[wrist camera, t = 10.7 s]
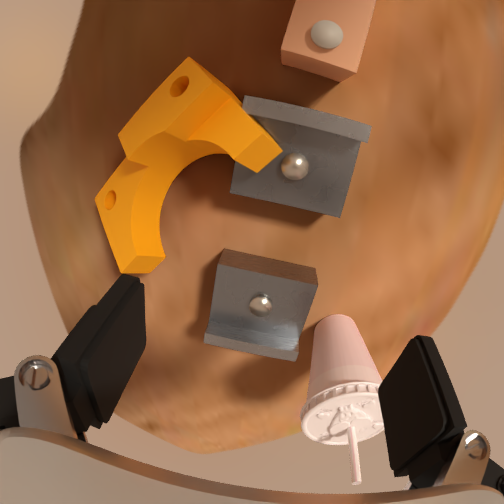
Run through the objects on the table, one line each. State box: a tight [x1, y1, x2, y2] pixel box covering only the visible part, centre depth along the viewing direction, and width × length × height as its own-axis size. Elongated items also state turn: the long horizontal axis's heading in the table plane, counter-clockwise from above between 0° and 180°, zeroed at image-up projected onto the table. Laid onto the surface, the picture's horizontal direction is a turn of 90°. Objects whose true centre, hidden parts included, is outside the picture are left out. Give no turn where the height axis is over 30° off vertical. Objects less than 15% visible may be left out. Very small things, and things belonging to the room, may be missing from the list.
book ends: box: [204, 95, 372, 361], centre depth 20 cm, size 17×7×4 cm, turn 169°
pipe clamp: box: [95, 56, 283, 273], centre depth 18 cm, size 12×4×6 cm
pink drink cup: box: [300, 314, 384, 485], centre depth 19 cm, size 6×6×14 cm
